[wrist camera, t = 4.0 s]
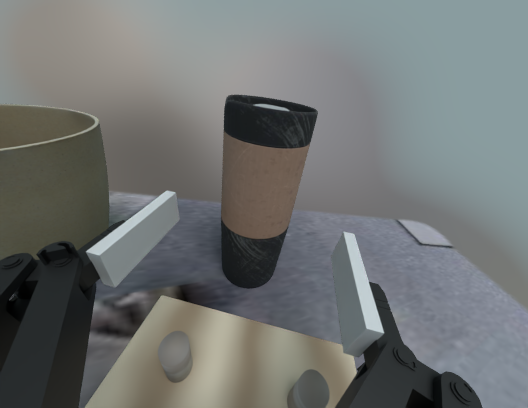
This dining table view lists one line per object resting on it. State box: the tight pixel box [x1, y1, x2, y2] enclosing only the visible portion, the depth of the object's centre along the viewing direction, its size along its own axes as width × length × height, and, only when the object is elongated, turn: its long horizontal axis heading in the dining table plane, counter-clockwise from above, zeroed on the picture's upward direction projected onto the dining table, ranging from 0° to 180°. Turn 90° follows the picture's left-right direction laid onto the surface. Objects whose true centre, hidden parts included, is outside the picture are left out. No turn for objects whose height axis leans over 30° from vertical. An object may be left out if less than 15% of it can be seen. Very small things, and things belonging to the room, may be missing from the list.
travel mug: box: [221, 95, 318, 288], centre depth 21 cm, size 8×8×20 cm
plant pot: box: [0, 104, 109, 260], centre depth 18 cm, size 15×15×16 cm
